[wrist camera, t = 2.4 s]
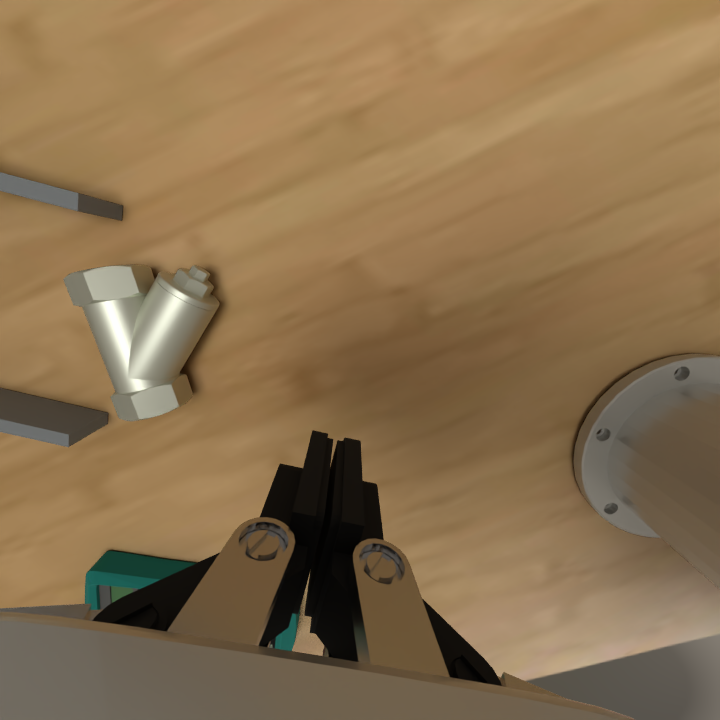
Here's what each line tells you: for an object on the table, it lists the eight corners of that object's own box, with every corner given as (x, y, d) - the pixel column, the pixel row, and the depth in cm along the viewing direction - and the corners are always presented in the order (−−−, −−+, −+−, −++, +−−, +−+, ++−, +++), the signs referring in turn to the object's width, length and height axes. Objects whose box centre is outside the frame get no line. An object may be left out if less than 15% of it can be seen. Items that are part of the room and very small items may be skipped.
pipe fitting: (215, 255, 20) (101, 276, 20) (187, 249, 16) (46, 276, 16) (251, 381, 22) (148, 401, 22) (233, 402, 18) (108, 428, 18)
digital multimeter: (296, 640, 27) (288, 682, 24) (111, 618, 27) (81, 659, 24) (305, 566, 25) (298, 603, 22) (107, 542, 25) (74, 577, 22)
